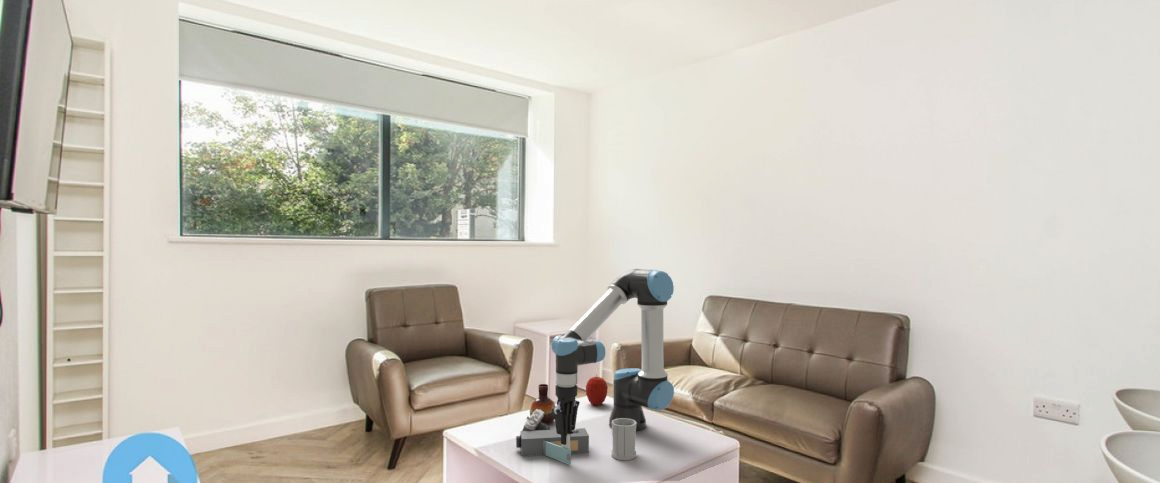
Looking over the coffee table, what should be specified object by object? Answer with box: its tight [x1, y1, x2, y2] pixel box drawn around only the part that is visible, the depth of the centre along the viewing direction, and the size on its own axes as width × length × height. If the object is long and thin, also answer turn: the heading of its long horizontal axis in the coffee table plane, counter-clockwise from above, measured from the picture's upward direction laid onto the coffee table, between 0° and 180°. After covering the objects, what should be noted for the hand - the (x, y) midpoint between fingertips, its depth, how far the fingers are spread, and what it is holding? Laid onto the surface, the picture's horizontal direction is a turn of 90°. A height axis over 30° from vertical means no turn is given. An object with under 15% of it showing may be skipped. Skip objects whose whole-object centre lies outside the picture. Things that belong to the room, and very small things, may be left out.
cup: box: [610, 418, 637, 461], centre depth 197 cm, size 10×9×12 cm
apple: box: [585, 374, 609, 407], centre depth 257 cm, size 10×10×14 cm
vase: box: [529, 383, 557, 426], centre depth 231 cm, size 11×11×15 cm
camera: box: [521, 409, 551, 431], centre depth 212 cm, size 9×16×10 cm, turn 169°
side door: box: [542, 441, 572, 465], centre depth 192 cm, size 13×1×5 cm, turn 49°
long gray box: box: [515, 427, 590, 457], centre depth 201 cm, size 26×8×7 cm, turn 100°
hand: (565, 452), depth 191 cm, fingers closed
